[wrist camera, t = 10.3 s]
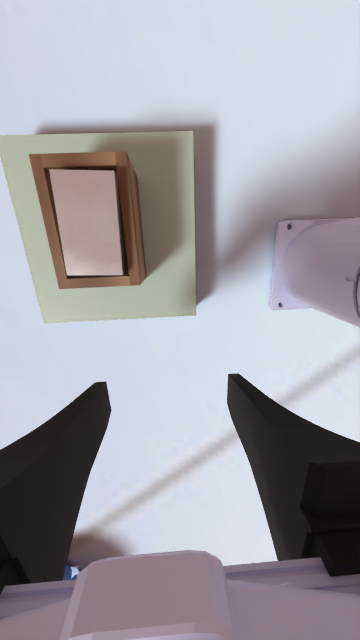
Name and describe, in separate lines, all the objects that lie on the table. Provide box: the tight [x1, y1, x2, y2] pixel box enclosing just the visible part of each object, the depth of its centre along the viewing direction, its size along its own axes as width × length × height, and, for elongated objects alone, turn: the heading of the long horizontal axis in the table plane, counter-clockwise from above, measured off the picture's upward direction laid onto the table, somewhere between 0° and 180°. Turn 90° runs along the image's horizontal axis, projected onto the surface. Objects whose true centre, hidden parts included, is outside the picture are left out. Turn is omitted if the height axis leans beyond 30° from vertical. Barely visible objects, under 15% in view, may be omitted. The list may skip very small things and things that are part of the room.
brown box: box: [29, 151, 147, 289], centre depth 14 cm, size 5×7×4 cm
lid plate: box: [49, 169, 128, 275], centre depth 12 cm, size 3×5×2 cm, turn 0°
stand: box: [0, 131, 196, 323], centre depth 17 cm, size 13×13×2 cm
